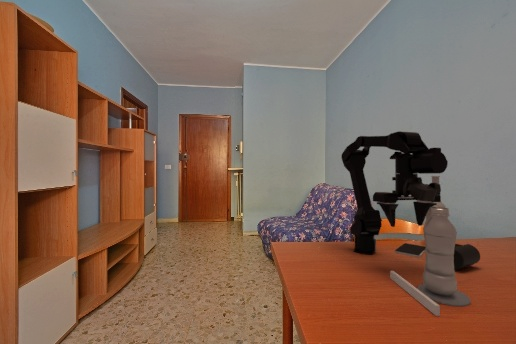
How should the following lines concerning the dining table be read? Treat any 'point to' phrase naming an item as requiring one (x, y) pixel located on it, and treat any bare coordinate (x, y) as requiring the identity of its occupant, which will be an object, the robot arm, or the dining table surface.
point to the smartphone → (411, 250)
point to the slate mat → (446, 297)
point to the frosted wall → (416, 293)
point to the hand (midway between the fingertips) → (406, 226)
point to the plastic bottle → (439, 253)
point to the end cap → (465, 256)
